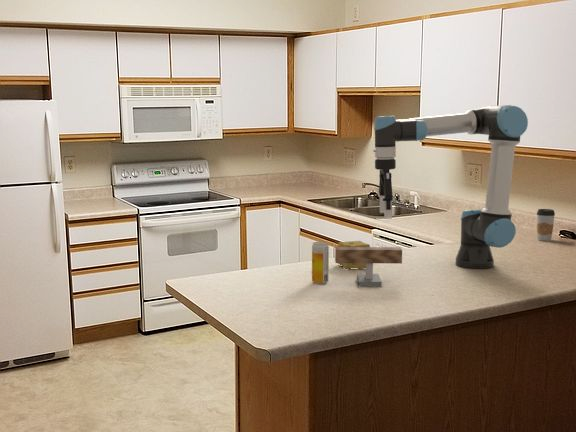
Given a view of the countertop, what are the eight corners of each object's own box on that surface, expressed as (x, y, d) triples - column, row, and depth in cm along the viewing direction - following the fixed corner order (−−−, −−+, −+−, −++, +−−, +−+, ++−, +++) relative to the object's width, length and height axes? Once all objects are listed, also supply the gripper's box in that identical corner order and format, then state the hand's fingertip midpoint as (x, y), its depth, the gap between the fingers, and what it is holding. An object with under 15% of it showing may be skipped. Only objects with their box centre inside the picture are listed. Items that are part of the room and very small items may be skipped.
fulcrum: (378, 279, 259) (378, 258, 257) (381, 287, 247) (381, 265, 246) (357, 279, 259) (357, 258, 258) (359, 287, 247) (359, 265, 246)
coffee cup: (534, 241, 333) (535, 210, 331) (536, 238, 341) (538, 208, 338) (552, 242, 329) (554, 211, 327) (554, 239, 337) (556, 209, 334)
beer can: (318, 280, 258) (318, 240, 255) (331, 282, 254) (331, 242, 251) (308, 283, 253) (308, 243, 251) (321, 285, 249) (322, 245, 247)
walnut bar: (400, 260, 254) (400, 247, 253) (401, 263, 249) (402, 249, 248) (335, 260, 254) (335, 247, 254) (335, 263, 249) (335, 249, 249)
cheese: (345, 270, 273) (346, 245, 272) (336, 264, 283) (337, 241, 282) (370, 268, 276) (370, 244, 274) (360, 263, 286) (360, 239, 285)
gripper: (371, 156, 264) (371, 210, 267) (379, 161, 239) (379, 221, 242) (390, 155, 264) (391, 210, 267) (400, 160, 239) (400, 220, 242)
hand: (385, 215), depth 255 cm, fingers open, 13 cm apart
